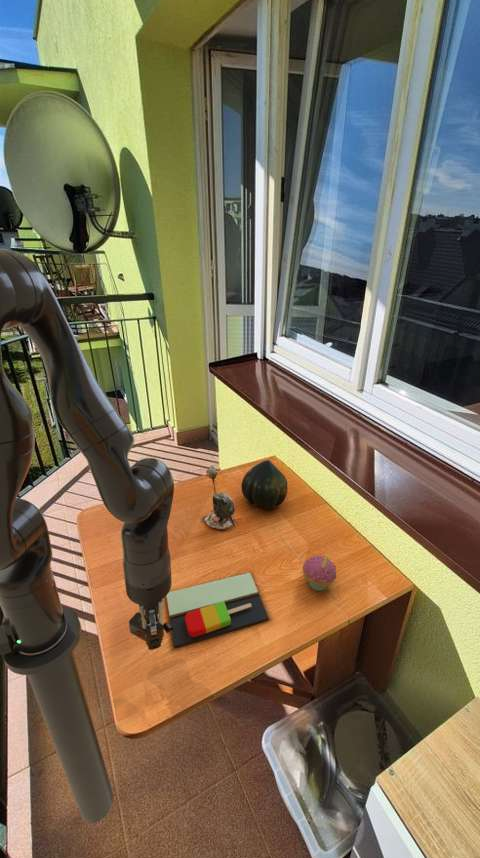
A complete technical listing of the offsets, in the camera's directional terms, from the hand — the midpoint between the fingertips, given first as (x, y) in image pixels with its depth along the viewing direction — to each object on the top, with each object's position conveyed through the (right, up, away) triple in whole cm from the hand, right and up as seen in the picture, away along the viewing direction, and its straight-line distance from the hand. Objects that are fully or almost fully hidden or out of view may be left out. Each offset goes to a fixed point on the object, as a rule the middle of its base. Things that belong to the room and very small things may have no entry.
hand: (153, 632), depth 72 cm
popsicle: (+11, -4, +14) cm, 18 cm away
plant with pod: (+6, +11, +42) cm, 44 cm away
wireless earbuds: (0, -1, +1) cm, 1 cm away
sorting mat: (+9, -3, +17) cm, 19 cm away
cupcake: (+34, -1, +25) cm, 42 cm away
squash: (+19, +16, +54) cm, 59 cm away
